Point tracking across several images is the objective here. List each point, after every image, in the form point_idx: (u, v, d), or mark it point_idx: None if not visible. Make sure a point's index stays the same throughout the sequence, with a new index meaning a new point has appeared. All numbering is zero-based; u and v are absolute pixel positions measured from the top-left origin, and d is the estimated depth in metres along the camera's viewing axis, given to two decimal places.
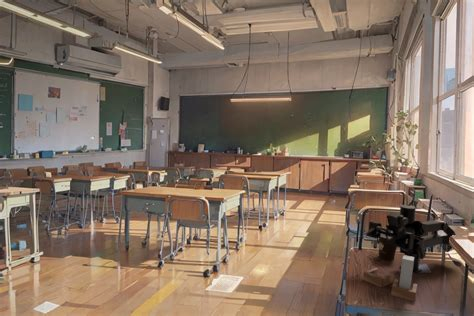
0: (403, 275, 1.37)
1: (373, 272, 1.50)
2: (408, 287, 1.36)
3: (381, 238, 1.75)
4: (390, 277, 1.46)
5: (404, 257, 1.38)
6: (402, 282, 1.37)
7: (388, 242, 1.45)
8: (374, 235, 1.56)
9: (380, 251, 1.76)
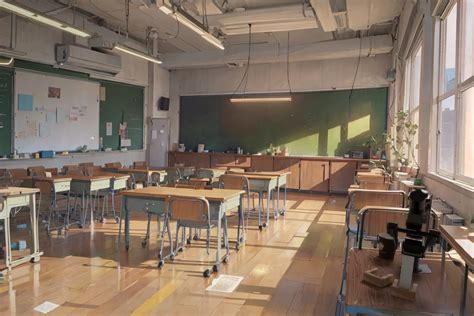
0: (403, 275, 1.37)
1: (373, 272, 1.50)
2: (408, 287, 1.36)
3: (381, 238, 1.75)
4: (390, 277, 1.46)
5: (404, 257, 1.38)
6: (402, 282, 1.37)
7: (424, 253, 1.43)
8: None
9: (380, 251, 1.76)
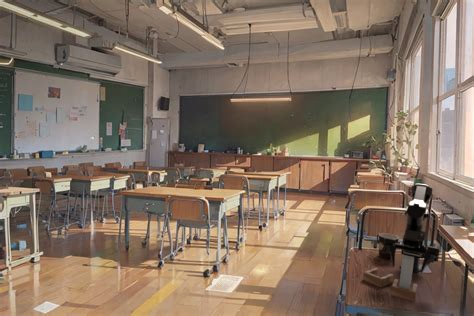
0: (403, 275, 1.37)
1: (373, 272, 1.50)
2: (408, 287, 1.36)
3: (381, 238, 1.75)
4: (390, 277, 1.46)
5: (404, 257, 1.38)
6: (402, 282, 1.37)
7: (422, 272, 1.38)
8: None
9: (380, 251, 1.76)
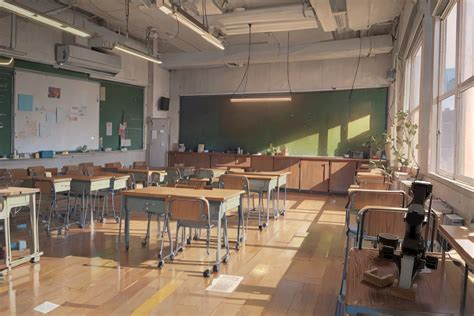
0: (403, 275, 1.37)
1: (373, 272, 1.50)
2: (408, 287, 1.36)
3: (381, 238, 1.75)
4: (390, 277, 1.46)
5: (404, 257, 1.38)
6: (402, 282, 1.37)
7: (412, 279, 1.37)
8: None
9: (380, 251, 1.76)
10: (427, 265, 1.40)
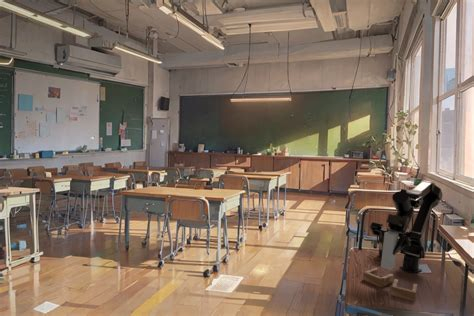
0: (385, 249, 1.43)
1: (373, 272, 1.50)
2: (389, 261, 1.42)
3: (381, 238, 1.75)
4: (390, 277, 1.46)
5: (387, 232, 1.43)
6: (384, 255, 1.43)
7: (395, 253, 1.42)
8: None
9: (380, 251, 1.76)
10: (414, 242, 1.44)
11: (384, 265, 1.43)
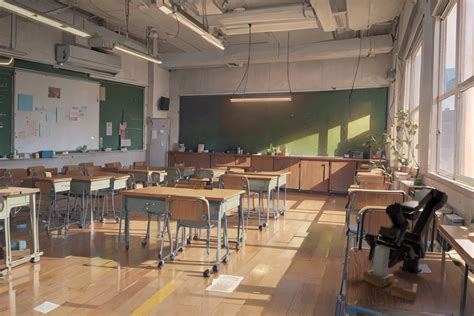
0: (375, 263, 1.47)
1: None
2: (379, 274, 1.46)
3: (381, 238, 1.75)
4: (390, 277, 1.46)
5: (378, 246, 1.47)
6: (375, 269, 1.47)
7: (390, 266, 1.44)
8: None
9: None
10: None
11: None
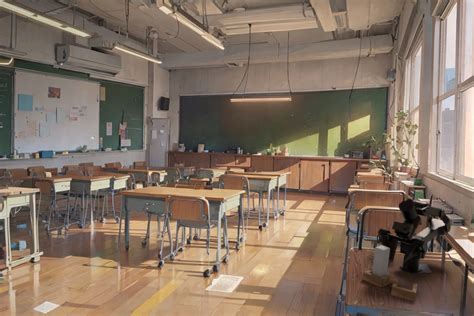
0: (375, 263, 1.47)
1: None
2: (379, 274, 1.46)
3: None
4: (390, 277, 1.46)
5: (378, 246, 1.47)
6: (375, 269, 1.47)
7: (405, 260, 1.50)
8: (388, 244, 1.60)
9: None
10: None
11: None
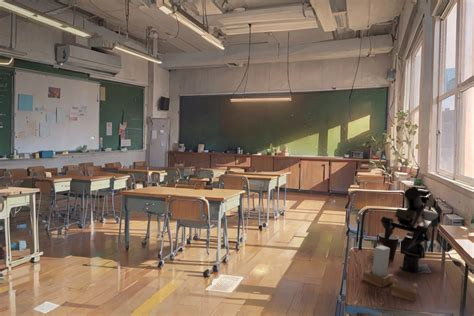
0: (375, 263, 1.47)
1: None
2: (379, 274, 1.46)
3: (381, 238, 1.75)
4: (390, 277, 1.46)
5: (378, 246, 1.47)
6: (375, 269, 1.47)
7: (408, 247, 1.49)
8: (390, 232, 1.58)
9: None
10: None
11: None
